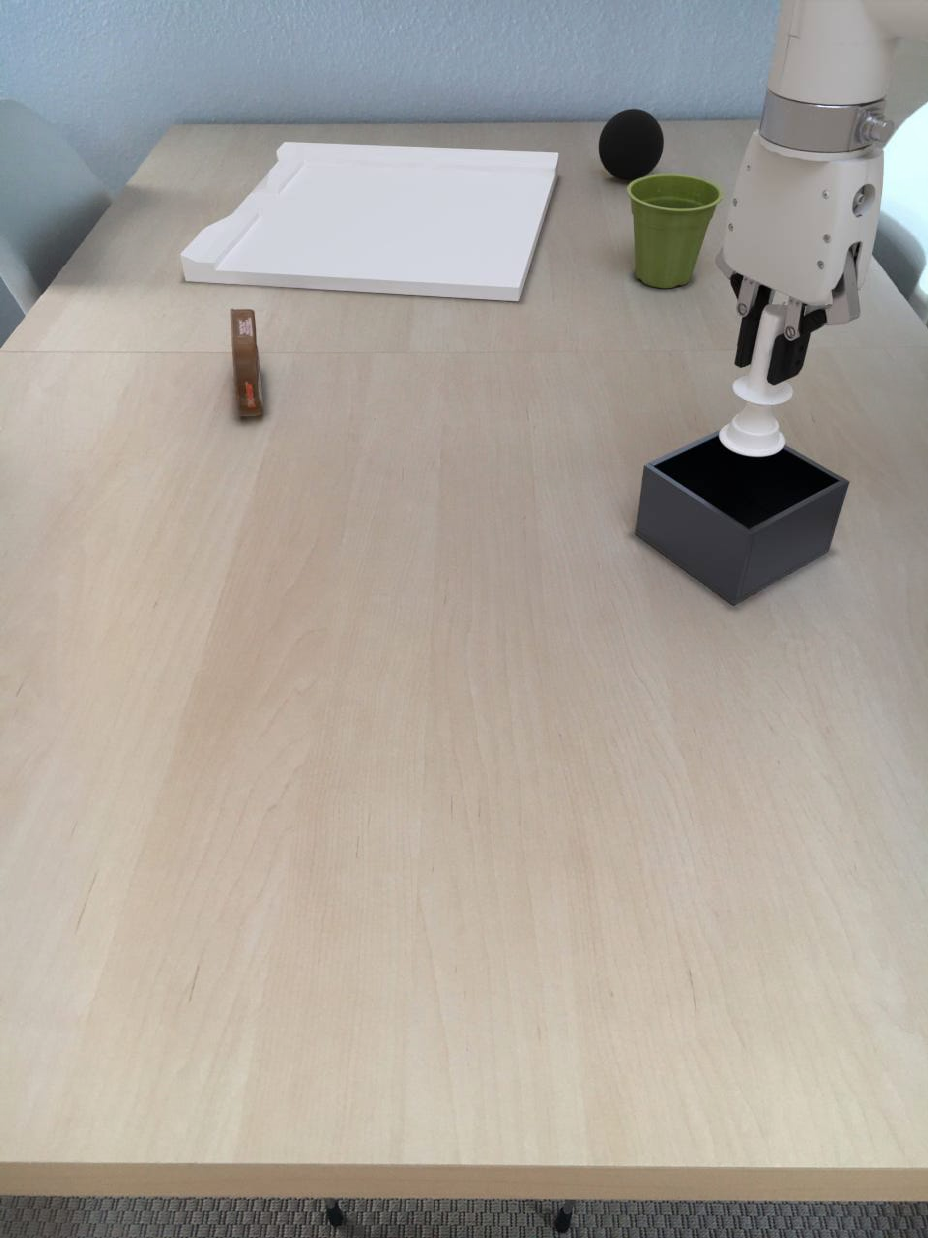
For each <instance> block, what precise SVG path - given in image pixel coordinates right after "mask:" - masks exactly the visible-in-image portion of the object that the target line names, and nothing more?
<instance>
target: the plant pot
mask: <svg viewBox="0 0 928 1238" xmlns="http://www.w3.org/2000/svg"><path fill="white" fill-rule="evenodd" d="M626 193H627V196H628V197H629V199H630V206H631V214H632V218H633V238H634V264H635V276H636V277H635V278H637V279H639V280H641V282H642V283H643V284H645V285H647V286H650V287H654V288H660V289H673V288H675V287H676V286H685V285H686V284H688V283H689V282H690V281H691V279H692V276H693V273H694V270H695V268H696V264H697V261H698V258H699V255H700V251H701V250H702V246H703V243H704V240H705V236H706V233H707V230H708V228H709V225H710V221H711V220H712V219H713V217H714V214H715V211H716V209H717V206H718V205H719V204H720V203H721V202H722V200H723V199H724V195H725V194H724V191H723V189H722V187H721V186H719V185H718V184H717V183H716V182H715V183H714V182H713V181H711V180H709V179H705V178H702V177H699V176H694V175H689V174H683V173H658V174H657V173H656V174H648V175H646V176H644V177H641V178H638V179H636V180H631V181H630V182H629V184H628V185H627V187H626Z"/></svg>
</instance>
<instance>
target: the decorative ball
mask: <svg viewBox="0 0 928 1238" xmlns="http://www.w3.org/2000/svg"><path fill="white" fill-rule="evenodd" d="M664 147H665V137H664V131H663V129H662V126H661V124H660V123H659V121H658V120H657V119H656V118H655V117H654V116H653V115H652V114H651V113H649V112H648V111H646V110H642V109H638V108H630V109H629V108H628V109H624V110H622V111H619V112H617V113H616V114H614V115H613V116H612V117H610V119H609V120H607V121H606V124H605V125H604V126H603V128H602V130H601V133H600V135H599V140H598V154H599V159H600V162H601V164H602V166H603V167H604V169H605V170H606V172H608V174H610V175H611V176H613V177H615V178H616V179H619V180H621V181H634V180H636V179H638V178H641V177H645V176H648V175H650V173H652V171H653V170H654V169H655V168H656V167H657V166H658V164H659V162H660V161H661V158H662V156H663V153H664Z"/></svg>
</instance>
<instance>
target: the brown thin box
mask: <svg viewBox="0 0 928 1238" xmlns="http://www.w3.org/2000/svg"><path fill="white" fill-rule="evenodd" d="M230 337H231V339H230V340H231V341H230V343H231V345H230V346H231V356H232V369H233V379H234V389H235V396H236V405H237V412H238V417H239V418H242V417H252V416H253V417H254V416H261V415H263V414H264V402H263V401H264V400H263V399H264V398H263V397H264V396H263V384H262V374H261V363H260V354H259V353H260V352H259V347H258V338H257V337H258V336H257V323H256V311H255V310H254V309H251V308H241V309H239V308H237V309H234V308H230Z"/></svg>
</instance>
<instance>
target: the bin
mask: <svg viewBox="0 0 928 1238" xmlns="http://www.w3.org/2000/svg"><path fill="white" fill-rule="evenodd" d="M720 430H721V429H719V430H717V431H715V432H712V433H710V434H708V435H706V436H703V437H702V438H700V439H698V440H695V441H693V442H691V443H689V444H687V445H685V446H682V447H679V448H678V449H676V450H673V451H671V452H670V453H667V454H664V455H662V456H661V457H659V458H657V459H654V460H652V461H650V462H648V463H646V464H644V465H643V468H642V477H641V484H640V493H639V500H638V507H637V508H638V509H637V515H636V524H635V532H634V535H635V536H637V537H638V538H640V539H641V540H642V541H644V542H645V543H646V544H648V545H649V546H650V547H652V548H653V549H654V550H656V551H658V552H659V553H660V554H661V555H663V556H664V557H666V558H667V559H669V560H670V561H671V562H672V563H674V564H675V565H676V566H678V567H679V568H681V569H682V570H684V571H685V572H686V573H687V574H689V575H690V576H691V577H694V578H695V579H696V580H697V581H699V582H700V583H702V584H703V585H704V586H706V587H707V588H708V589H710V590H711V591H712V592H714V593H715V594H717V596H720V598H722V599H724V600H725V601H726V602H727V603H729V604H730V605H732V606H736V605H738V604H739V603H741V602H743V601H745V600H746V599H748V598H750V597H752V596H753V595H755V594H756V593H759V592H760V591H762V590H763V589H766V588H767V587H768V586H771V585H772V584H774V583H776V582H778V581H779V580H781V579H783V578H784V577H786V576H788V575H790V574H791V573H794V572H795V571H797V570H799V569H801V568H802V567H804V566H806V565H807V564H809V563H810V562H812V561H814V560H816V559H817V558H820V557H821V556H823V555H825V554H826V553H828V552H829V551H830V550H831V549H830V548H831V545H832V542H833V539H834V535H835V532H836V530H837V529H836V528H837V525H838V522H839V518H840V515H841V512H842V508H843V505H844V502H845V499H846V497H847V492H848V489H849V485H850V480H848V479H846V478H845V477H843V476H841V475H839V474H837V473H836V472H834V471H832V470H830V469H829V468H827V467H825V466H824V465H822V464H820V463H818V462H817V461H815V460H813V459H811V458H810V457H808V456H806V455H804V454H803V453H800V452H799V451H797V450H796V449H794V448H792V447H790V446H789V445H787V444H785V445H784V447H783V448H782V449H781V450H780V451H779V452H777V453H775V454H773V455H769V456H763V457H752V456H745V455H741V454H738V453H736V452H733V451H731V450H730V449H728V448H727V447H725V446H724V445H723V444H722V442H721V441H720V438H719V433H720Z"/></svg>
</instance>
